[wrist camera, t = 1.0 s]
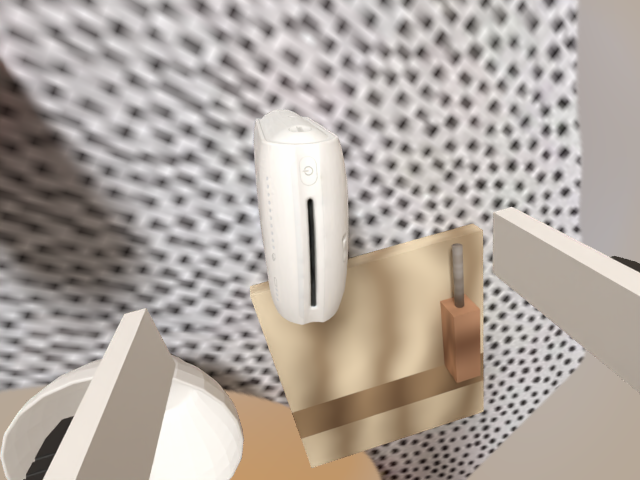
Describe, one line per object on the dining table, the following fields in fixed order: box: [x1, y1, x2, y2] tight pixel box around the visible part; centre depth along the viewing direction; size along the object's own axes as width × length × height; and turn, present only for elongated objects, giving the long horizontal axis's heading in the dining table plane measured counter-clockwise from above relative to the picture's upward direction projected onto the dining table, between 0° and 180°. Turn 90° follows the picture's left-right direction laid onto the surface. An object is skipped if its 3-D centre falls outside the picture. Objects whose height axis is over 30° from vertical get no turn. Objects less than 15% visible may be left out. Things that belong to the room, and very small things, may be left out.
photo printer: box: [254, 109, 349, 325], centre depth 22 cm, size 10×4×12 cm, turn 1°
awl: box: [440, 243, 481, 383], centre depth 33 cm, size 14×2×2 cm, turn 12°
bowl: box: [0, 355, 244, 480], centre depth 30 cm, size 16×16×7 cm
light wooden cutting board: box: [250, 224, 483, 468], centre depth 36 cm, size 20×23×2 cm
